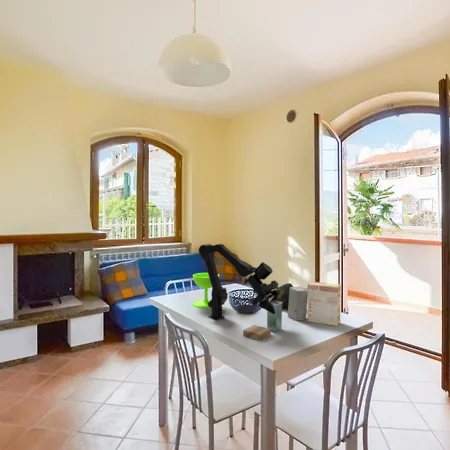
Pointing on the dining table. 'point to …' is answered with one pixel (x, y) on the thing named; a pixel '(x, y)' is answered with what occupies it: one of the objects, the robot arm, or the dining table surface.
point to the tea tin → (275, 316)
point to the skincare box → (297, 303)
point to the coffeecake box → (324, 303)
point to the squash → (284, 294)
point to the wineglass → (202, 282)
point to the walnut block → (257, 332)
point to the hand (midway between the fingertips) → (277, 312)
